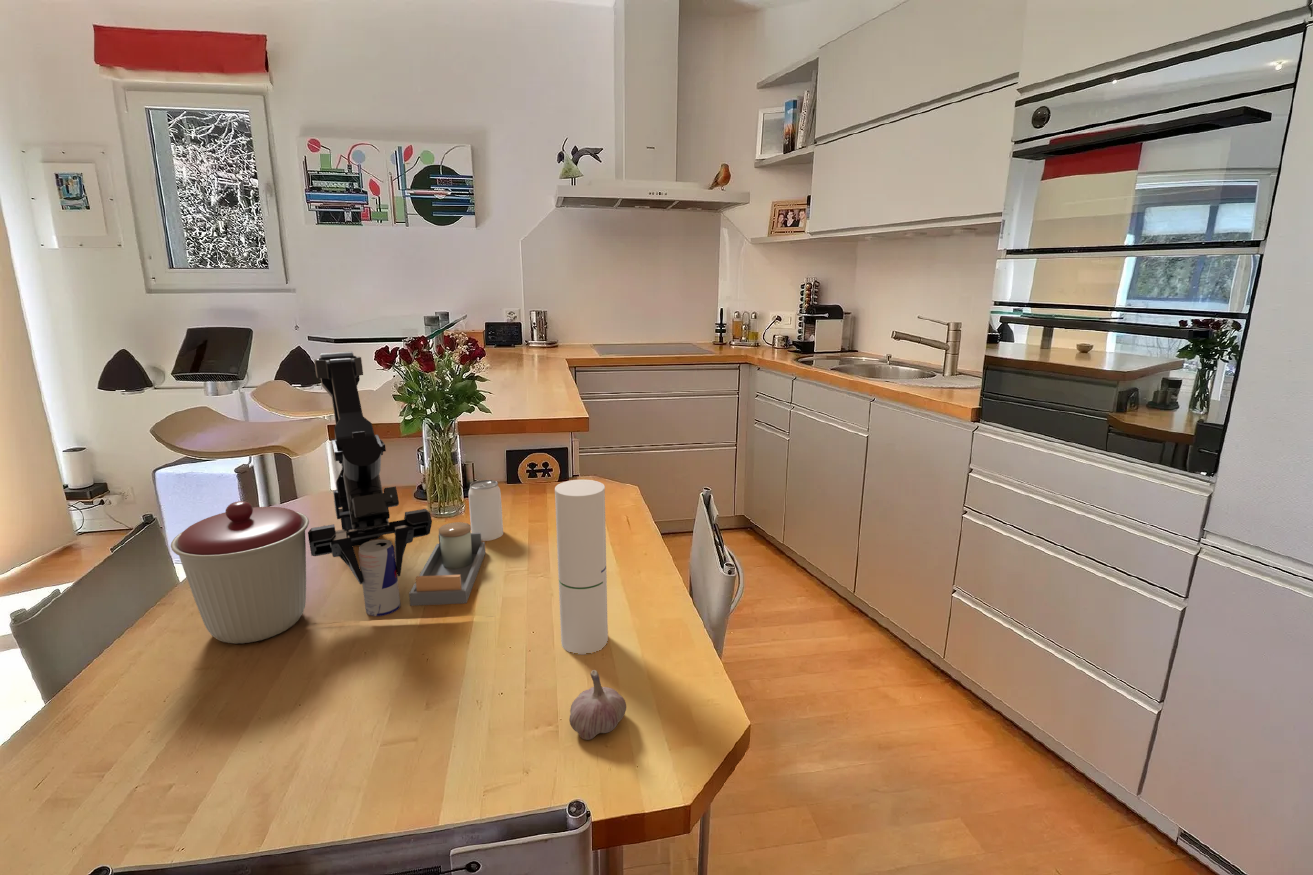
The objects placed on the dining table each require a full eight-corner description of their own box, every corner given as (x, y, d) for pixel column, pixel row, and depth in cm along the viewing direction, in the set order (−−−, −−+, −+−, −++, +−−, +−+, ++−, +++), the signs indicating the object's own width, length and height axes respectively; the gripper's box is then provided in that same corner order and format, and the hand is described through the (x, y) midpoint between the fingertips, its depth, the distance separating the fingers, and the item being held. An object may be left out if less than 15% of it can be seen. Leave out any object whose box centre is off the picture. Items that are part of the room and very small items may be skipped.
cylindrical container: (615, 633, 103) (612, 482, 97) (596, 658, 97) (592, 498, 90) (573, 625, 106) (568, 477, 99) (552, 649, 99) (545, 492, 93)
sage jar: (438, 569, 123) (435, 534, 121) (445, 556, 128) (442, 522, 127) (470, 568, 123) (467, 533, 122) (475, 554, 129) (473, 521, 127)
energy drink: (407, 607, 111) (400, 542, 108) (382, 623, 106) (374, 554, 103) (384, 601, 113) (376, 536, 110) (358, 615, 108) (350, 548, 105)
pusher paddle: (417, 601, 111) (415, 578, 110) (419, 598, 112) (416, 576, 111) (461, 599, 112) (459, 576, 111) (462, 596, 113) (460, 574, 111)
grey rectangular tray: (410, 609, 110) (407, 582, 109) (438, 557, 130) (435, 534, 128) (466, 607, 111) (464, 580, 110) (485, 555, 130) (484, 532, 129)
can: (507, 532, 142) (504, 479, 139) (497, 544, 136) (493, 489, 132) (478, 531, 142) (474, 478, 139) (467, 543, 136) (462, 488, 133)
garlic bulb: (577, 752, 79) (575, 695, 76) (561, 715, 85) (558, 660, 83) (636, 734, 82) (636, 678, 79) (616, 699, 88) (615, 647, 86)
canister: (162, 644, 100) (134, 515, 95) (267, 590, 117) (248, 477, 111) (249, 669, 94) (224, 532, 89) (347, 608, 111) (331, 490, 105)
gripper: (300, 481, 103) (313, 574, 96) (424, 463, 111) (444, 548, 105) (305, 512, 111) (317, 599, 105) (420, 493, 120) (438, 573, 114)
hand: (380, 579), depth 107 cm, fingers closed on energy drink, 5 cm apart
